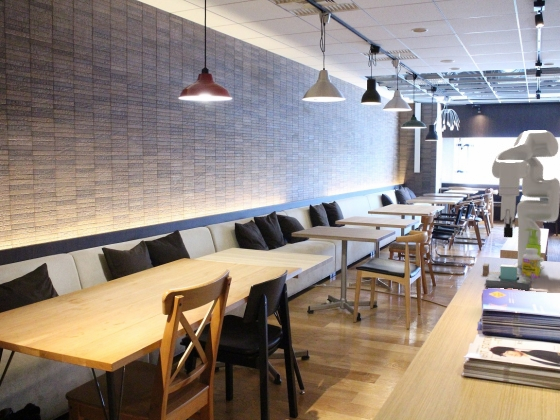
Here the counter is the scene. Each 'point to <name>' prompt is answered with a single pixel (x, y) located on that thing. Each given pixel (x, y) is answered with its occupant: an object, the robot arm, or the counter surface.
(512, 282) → the port
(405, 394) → the counter surface
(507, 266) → the plug
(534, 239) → the soap dispenser
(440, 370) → the counter surface
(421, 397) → the counter surface
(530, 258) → the supplement bottle
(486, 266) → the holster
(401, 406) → the counter surface
